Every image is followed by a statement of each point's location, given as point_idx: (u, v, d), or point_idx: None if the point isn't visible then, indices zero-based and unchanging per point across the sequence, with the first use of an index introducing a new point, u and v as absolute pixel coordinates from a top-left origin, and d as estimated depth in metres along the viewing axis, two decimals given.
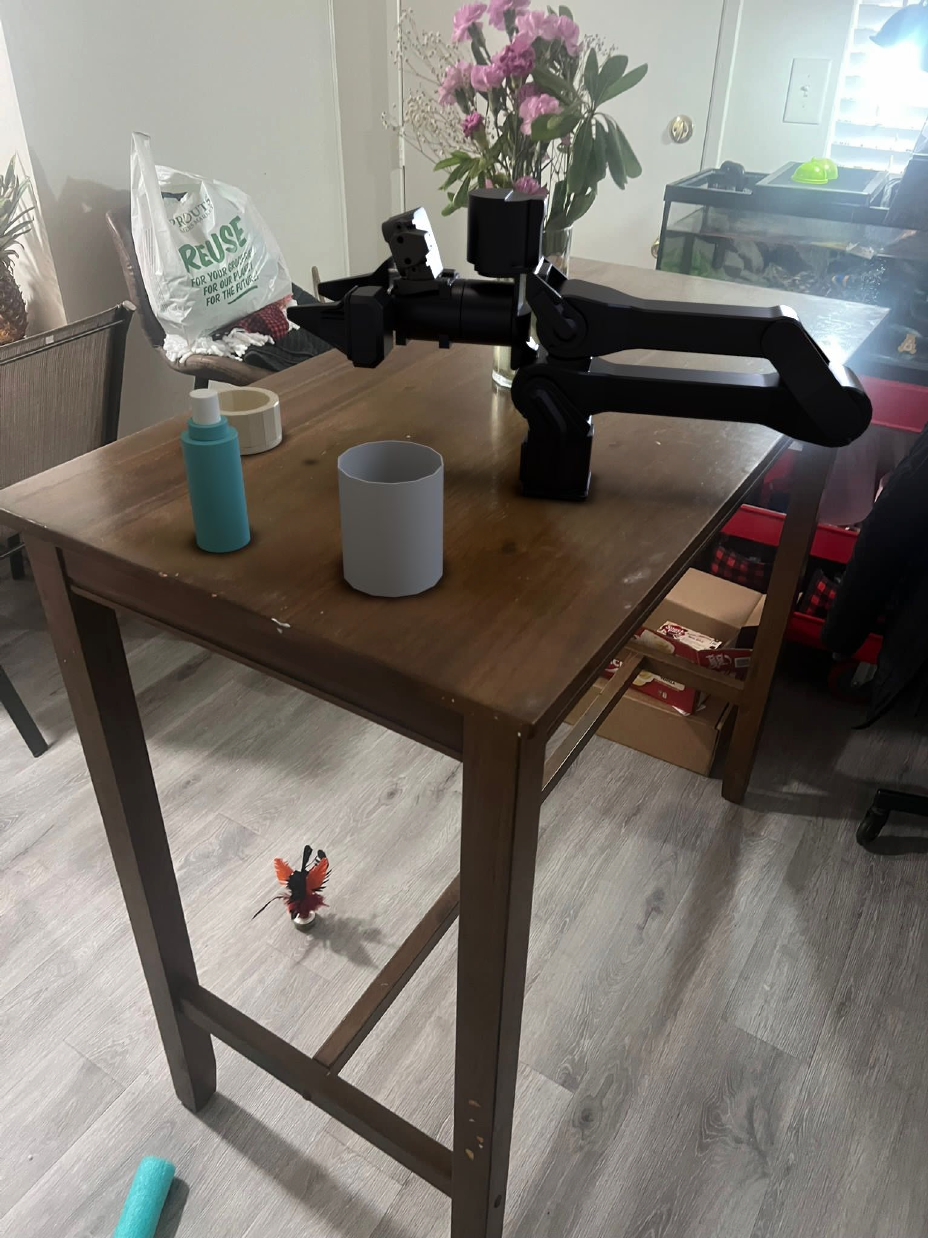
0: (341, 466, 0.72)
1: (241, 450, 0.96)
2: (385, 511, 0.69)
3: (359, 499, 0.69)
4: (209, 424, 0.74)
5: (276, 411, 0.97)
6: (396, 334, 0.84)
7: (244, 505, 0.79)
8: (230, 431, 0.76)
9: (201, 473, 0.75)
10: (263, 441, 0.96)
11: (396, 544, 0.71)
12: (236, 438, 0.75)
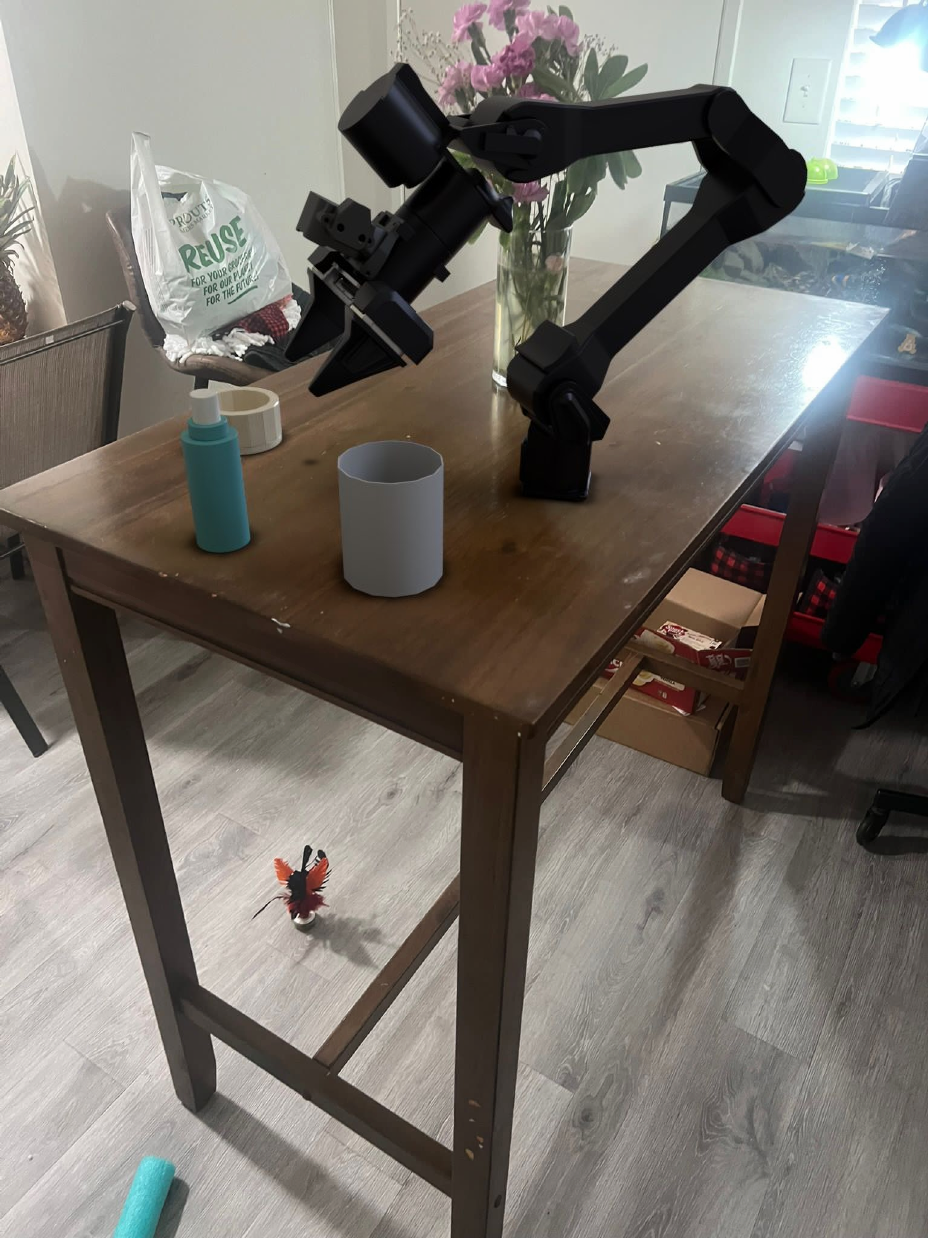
0: (341, 466, 0.72)
1: (241, 450, 0.96)
2: (385, 511, 0.69)
3: (359, 499, 0.69)
4: (209, 424, 0.74)
5: (276, 411, 0.97)
6: None
7: (244, 505, 0.79)
8: (230, 431, 0.76)
9: (201, 473, 0.75)
10: (263, 441, 0.96)
11: (396, 544, 0.71)
12: (236, 438, 0.75)
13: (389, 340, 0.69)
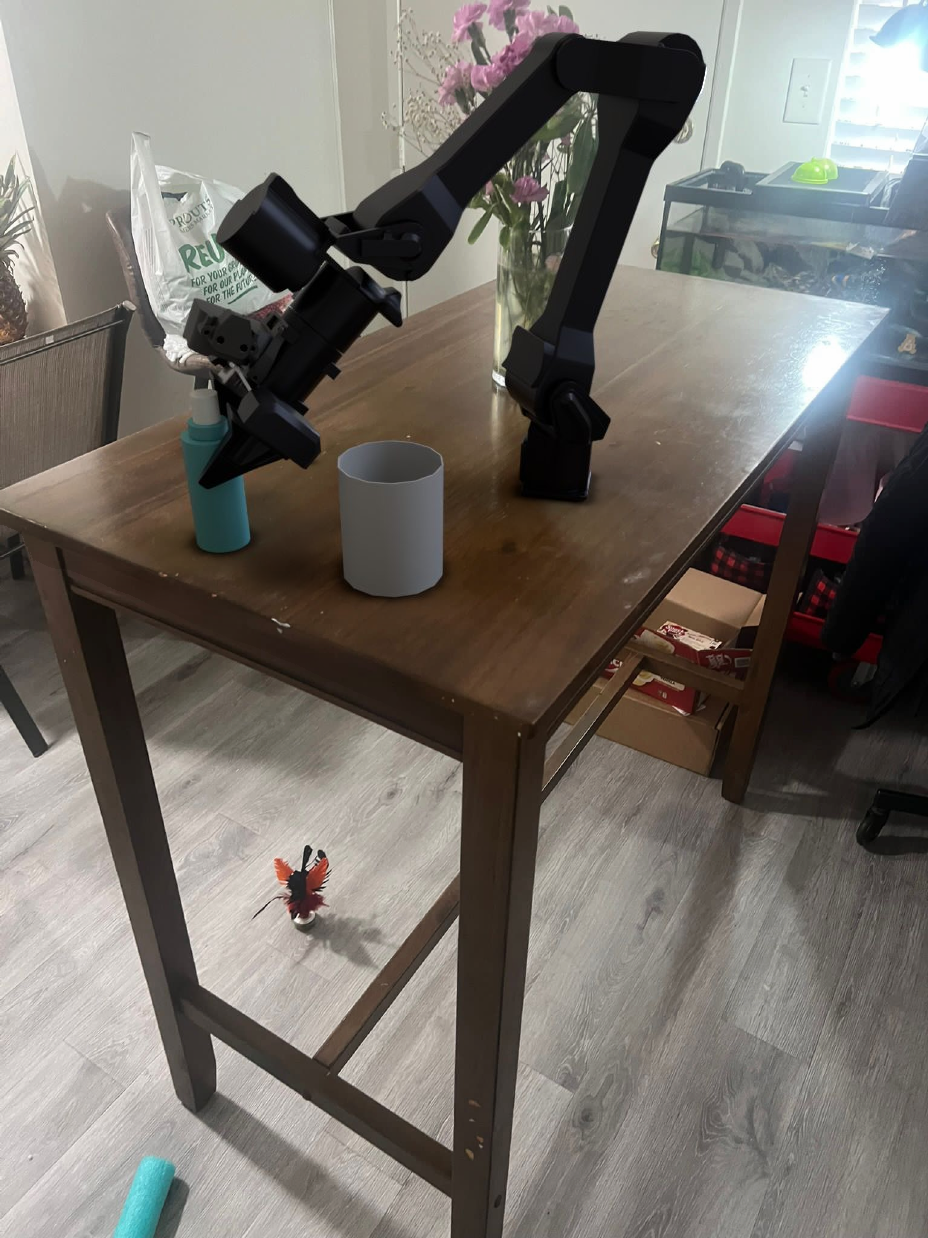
0: (341, 466, 0.72)
1: None
2: (385, 511, 0.69)
3: (359, 499, 0.69)
4: (209, 424, 0.74)
5: None
6: (293, 410, 0.74)
7: (244, 505, 0.79)
8: None
9: (200, 473, 0.75)
10: None
11: (396, 544, 0.71)
12: None
13: None
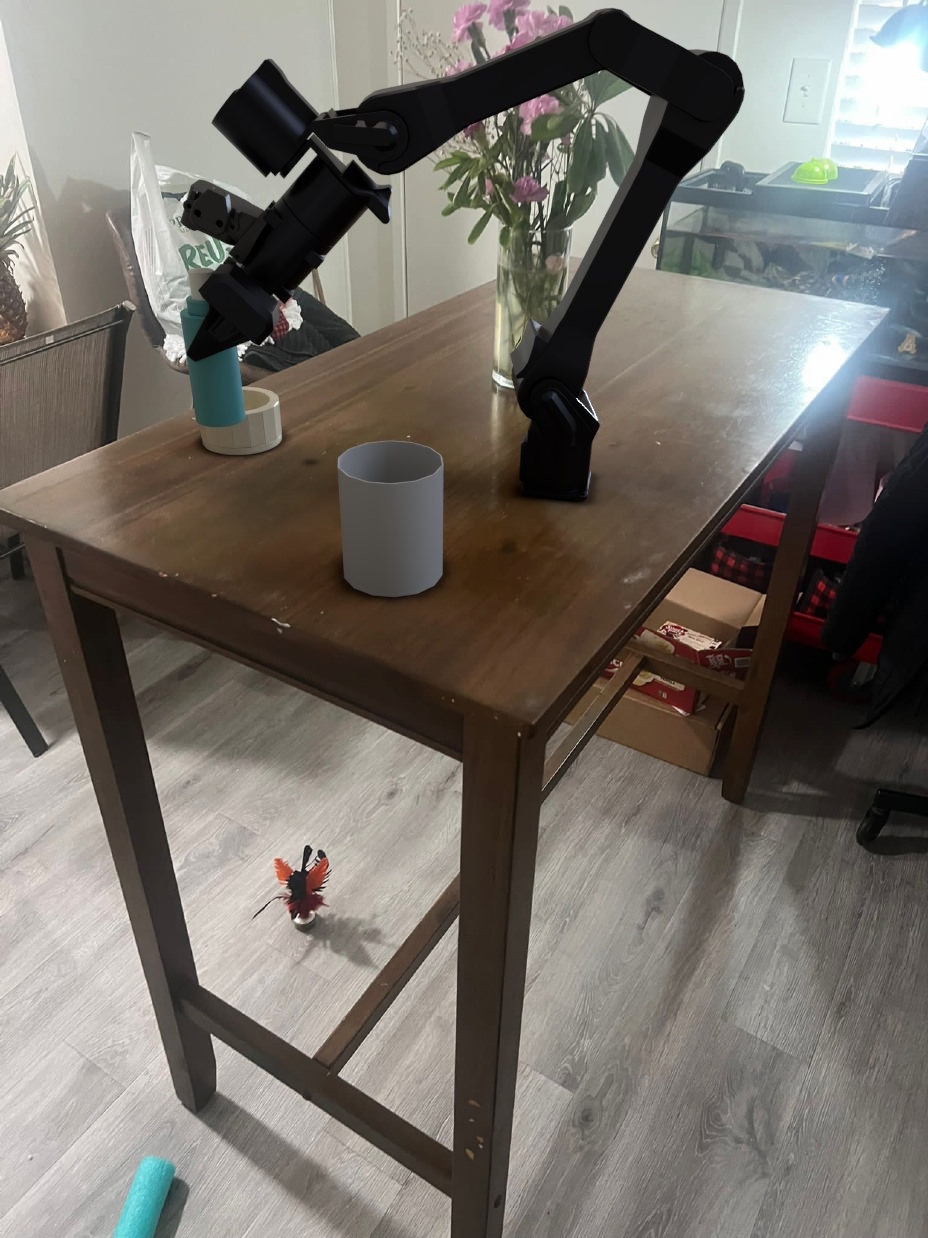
0: (341, 466, 0.72)
1: (241, 450, 0.96)
2: (385, 511, 0.69)
3: (359, 499, 0.69)
4: (201, 300, 0.79)
5: (276, 411, 0.97)
6: (276, 295, 0.78)
7: (235, 385, 0.84)
8: None
9: None
10: (263, 441, 0.96)
11: (396, 544, 0.71)
12: None
13: None
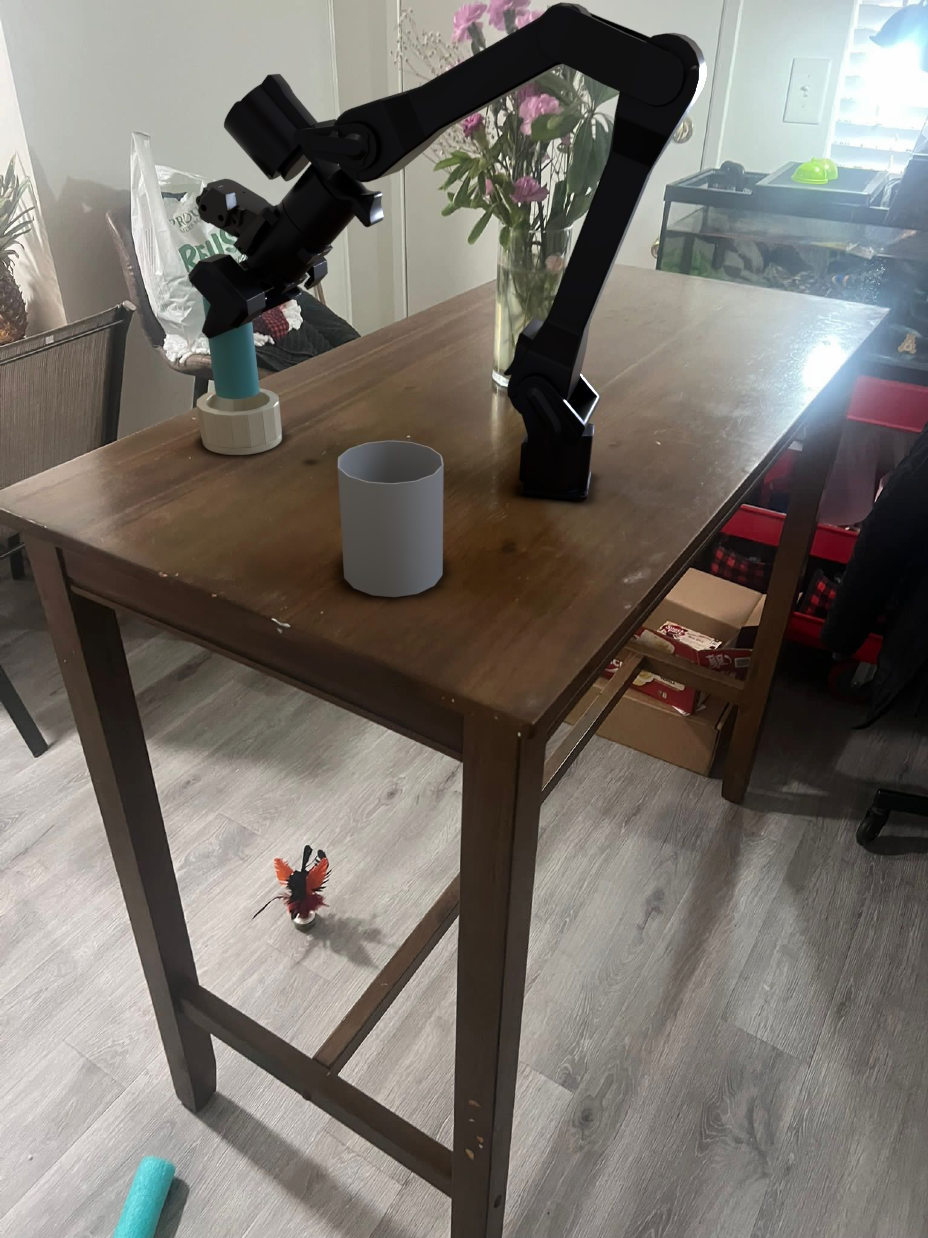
0: (341, 466, 0.72)
1: (241, 450, 0.96)
2: (385, 511, 0.69)
3: (359, 499, 0.69)
4: None
5: (276, 411, 0.97)
6: (273, 285, 0.87)
7: (245, 363, 0.93)
8: None
9: None
10: (263, 441, 0.96)
11: (396, 544, 0.71)
12: None
13: None
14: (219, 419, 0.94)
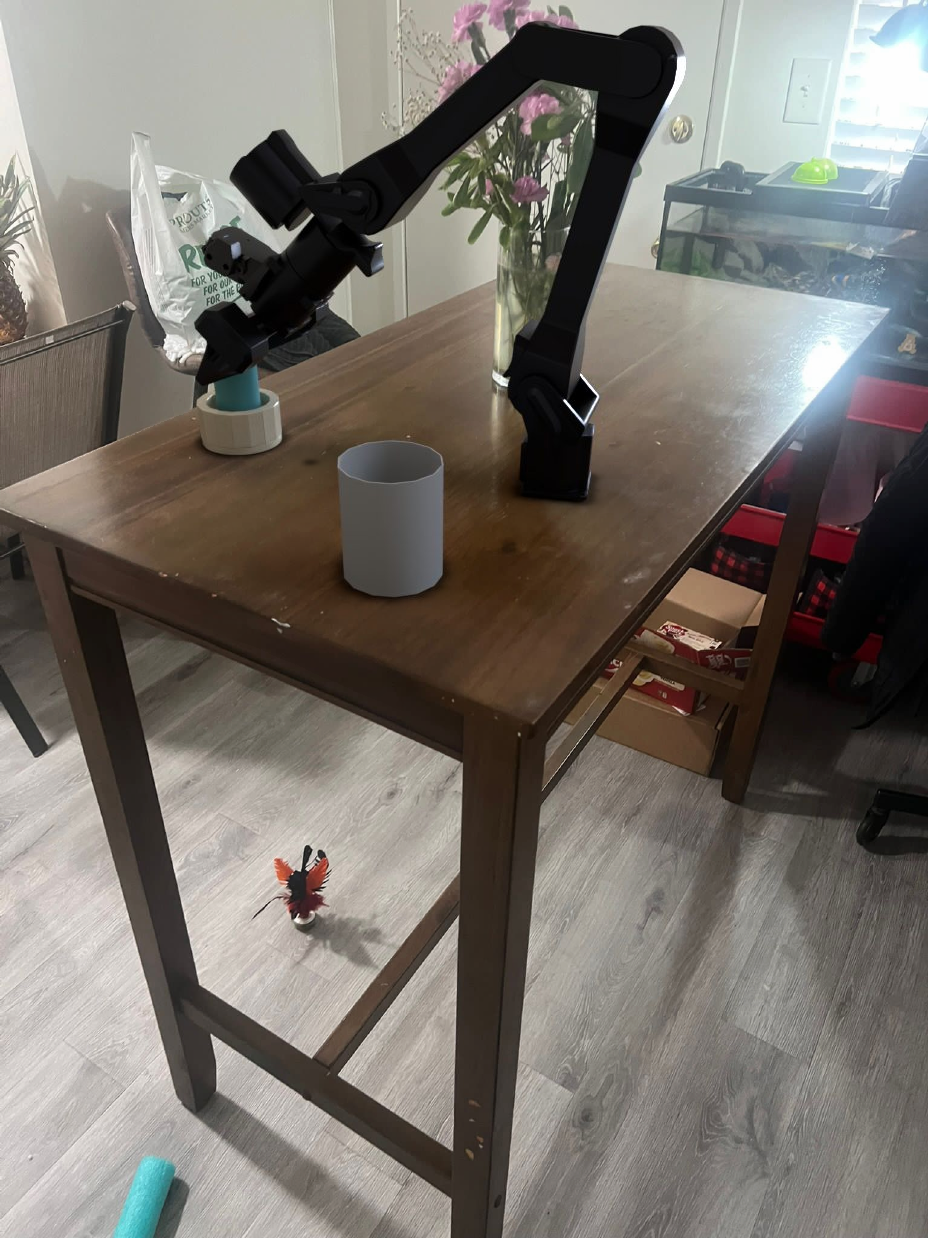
0: (341, 466, 0.72)
1: (241, 450, 0.96)
2: (385, 511, 0.69)
3: (359, 499, 0.69)
4: None
5: (276, 411, 0.97)
6: (277, 330, 0.89)
7: (250, 406, 0.96)
8: None
9: None
10: (263, 441, 0.96)
11: (396, 544, 0.71)
12: None
13: None
14: (219, 419, 0.94)
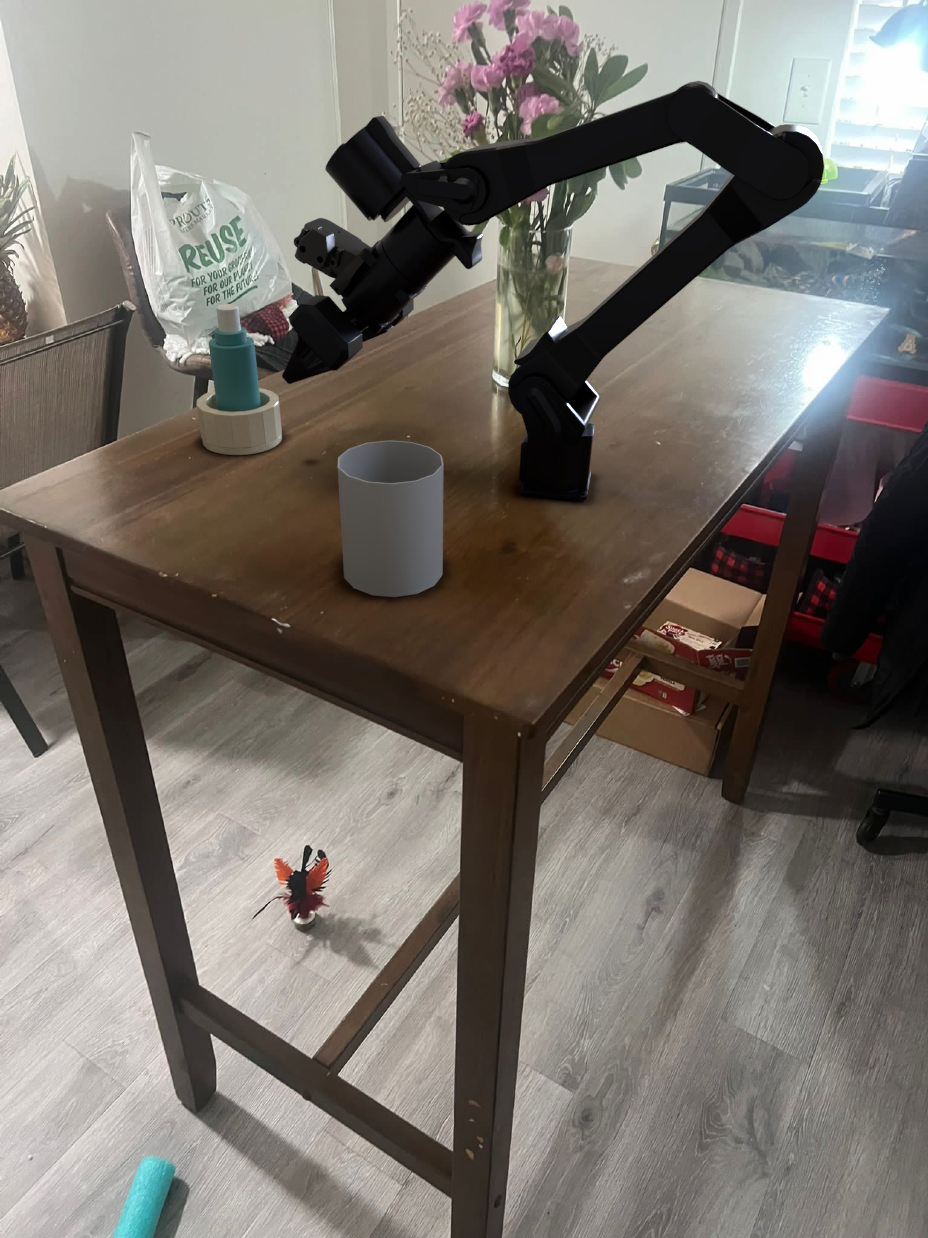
0: (341, 466, 0.72)
1: (241, 450, 0.96)
2: (385, 511, 0.69)
3: (359, 499, 0.69)
4: (224, 332, 0.92)
5: (276, 411, 0.97)
6: (368, 325, 0.86)
7: (250, 406, 0.96)
8: (246, 343, 0.93)
9: (214, 370, 0.94)
10: (263, 441, 0.96)
11: (396, 544, 0.71)
12: (244, 349, 0.93)
13: None
14: (219, 419, 0.94)
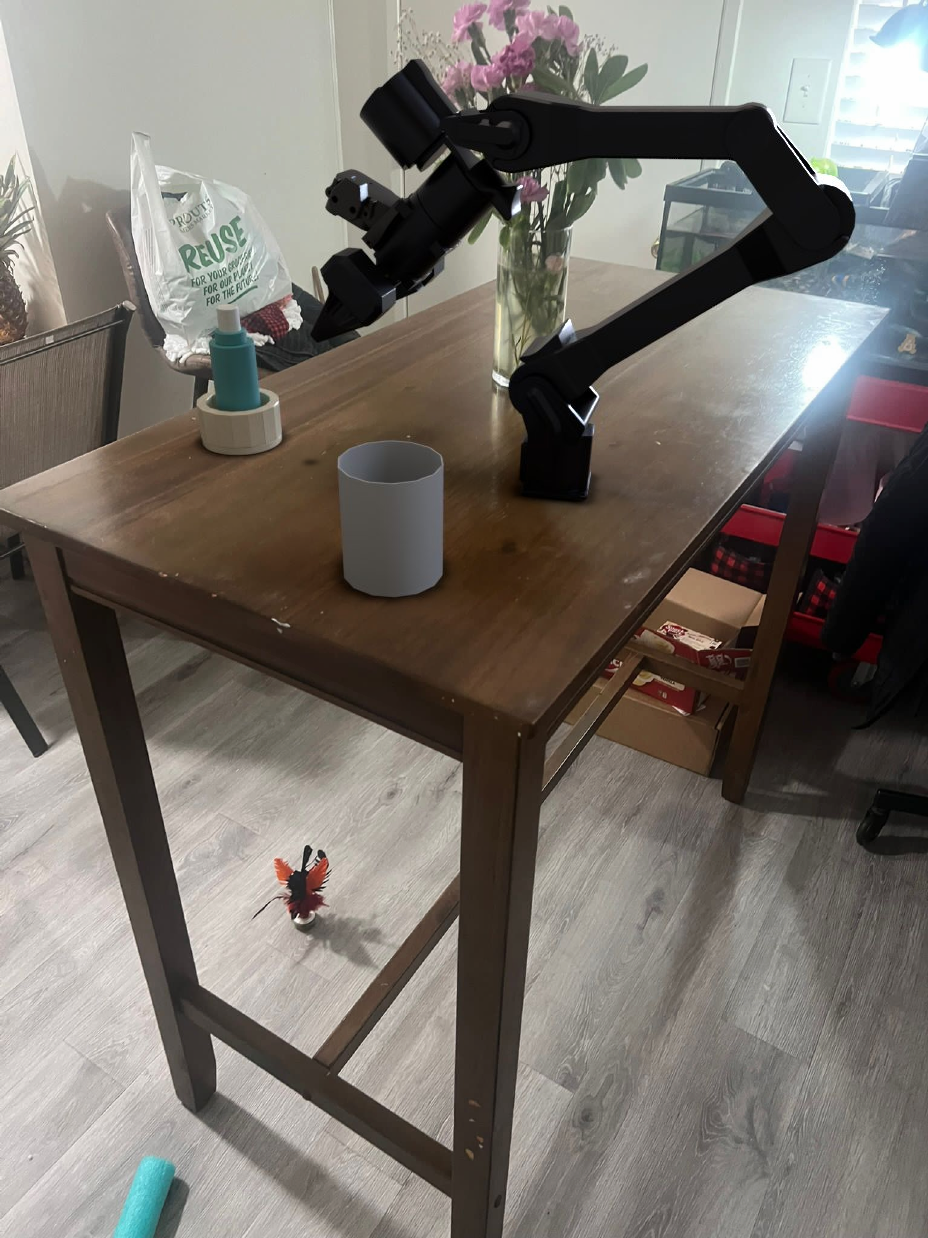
0: (341, 466, 0.72)
1: (241, 450, 0.96)
2: (385, 511, 0.69)
3: (359, 499, 0.69)
4: (224, 332, 0.92)
5: (276, 411, 0.97)
6: (401, 281, 0.83)
7: (250, 406, 0.96)
8: (246, 343, 0.93)
9: (214, 370, 0.94)
10: (263, 441, 0.96)
11: (396, 544, 0.71)
12: (244, 349, 0.93)
13: None
14: (219, 419, 0.94)
